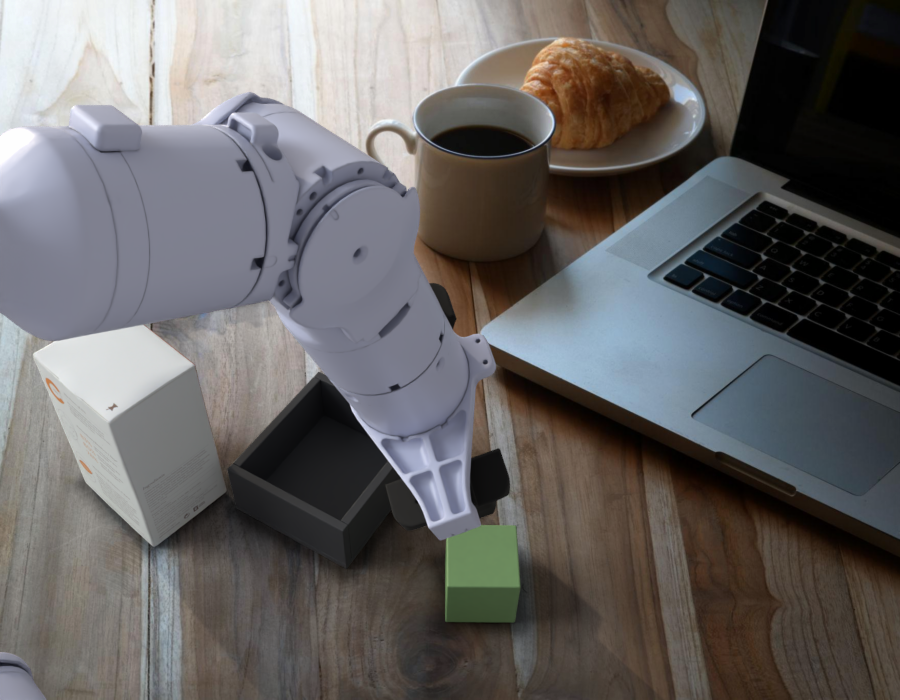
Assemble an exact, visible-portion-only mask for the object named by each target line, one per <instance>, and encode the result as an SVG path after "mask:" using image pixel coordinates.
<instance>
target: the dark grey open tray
mask: <svg viewBox="0 0 900 700" xmlns="http://www.w3.org/2000/svg"><path fill="white" fill-rule="evenodd" d="M226 472H227V475H228V479H229V484H230V487H231V492H232V495H233V500H234V505H235V508H236V509H237V510H239V511H241V512H242V513H244V514H246V515H248V516H250V517H251V518H253V519H255V520H256V521H259V522H261V523H262V524H264V525H266V526H267V527H269V528H271V529H273V530H275V531H277V532H278V533H280V534H282V535H284V536H286V537H287V538H289V539H291V540H293V541H295V542H297V543H298V544H300V545H302V546H304V547H306V548H307V549H308V550H311V551H313V552H314V553H317V554H318V555H320V556H323V557H324V558H325V559H328V560H329V561H331V562H333V563H334V564H336V565H338V566H339V567H342V568H344V569H346V570H347V569H348V568H349V567H350V566H351V564H352V563H353V562H354V561H355V559H356V557H358V555H359V553H360V552H362V550H363V548H365V545H366V544H367V543H368V542H369V541H370V540H371V538H372V537H373V535H374V534H375V532H376V531H377V530H378V529H379V527H380V526H381V525H382V523H383V521H384V520H385V519H386V518H387V516H388V515H389V514H390V513H391V512H392V509H391V505H390V501H389V497H388V494H387V490H386V486H385V485H386V484H389V483H391V482H394V481H397V480H400V479H402V478H401V477H400V476H399V474H398V473H397V472H396V470H395V469H394V468H393V466H392V465H391V464H390V462H389V461H388V460H387V459H386V457H385V456H384V455H383V453H382V452H381V451H380V449H379V448H378V447H377V445H376V444H375V443H374V441H373V440H372V439H371V437H370V436H369V435H368V433H367V432H366V431H365V429H364V428H363V427H362V425H361V424H360V423H359V421H358V420H357V418H356V417H355V415H354V413H353V412H352V409H351V407H350V404H349V403H348V401H347V400H346V399H345V398H344V397H343V395H342V394H341V393H340V392H339V391H338V389H337V388H336V387H335V386H334V384H333V383H332V382H331V381H330V380H329V378H328V377H327V376H326V375H325V374H324V372H320V371H318V372H316V374H314V376H313V377H312V378H311V379H310V380H309V381H308V382H307V383H306V384H305V385H304V386H303V387H302V389H301V390H300V391H299V392H298V393H296V395H295V396H294V397H293V398H292V399H291V400H290V401H289V402H288V403H287V404H286V405H285V407H284V408H282V410H281V411H280V412H279V413H278V414H277V415H276V416H275V417H274V418H273V419H272V421H271V422H269V424H268V425H267V426H266V427H265V428H264V429H263V430H262V431H261V432H260V434H258V436H256V437H255V438H254V439H253V441H252V442H251V443H250V444H249V445H248V446H247V447H246V448H245V449H244V450H243V451H242V452H241V453H240V454H239V456H238V457H237V458H236V459H235V460H234V461H233V462H232V463H231V464H230V466H228V467H227V469H226Z"/></svg>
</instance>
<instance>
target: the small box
mask: <svg viewBox="0 0 900 700" xmlns="http://www.w3.org/2000/svg"><path fill="white" fill-rule="evenodd" d="M32 358H33V360H34V363H35V365H36V367H37V370H38V372H39V375H40V377H41V379H42V383H43V384H44V386H45V389H46V391H47V393H48V395H49V398H50V401H51V403H52V405H53V408H54V410H55V412H56V415H57V417H58V420H59V422H60V424H61V427H62V429H63V432H64V434H65V436H66V439H67V441H68V443H69V445H70V448H71V450H72V453H73V455H74V459H75V460H76V462H77V465H78V468H79V470H80V472H81V475H82V477H83V479H84V482H85V484H86V485H87V486H88V487H89V488H90V489H91V490H92V491H93V492H95V493H96V495H97V496H98V497H100V498H101V499H102V500H103V501H104V502H105V503H106V504H107V505H108V506H109V507H110V508H111V509H112V510H113V511H114V512H115V513H116V514H117V515H118V516H119V517H121V518H122V519H123V520H124V521H125V522H126V523H127V524H128V525H129V526H130V527H131V528H132V529H133V530H134V531H135V532H136V533H137V534H138V535H140V536H141V538H143V539H144V540H145V541H146V542H147V543H148V544H149V545H150V546H152V547H154V548H156V547H157V546H159V545H160V544H161V543H162V542H164V541H165V540H166V539H167V538H169V537H170V536H172V535H173V534H174V533H175V532H177V531H178V530H179V529H181V528H183V526H184V525H186V524H187V523H189V522H190V521H191V520H192V519H193V518H195V517H196V516H197V515H199V514H200V513H201V512H202V511H204V510H205V509H206V508H207V507H209V506H210V505H211V504H212V503H214V502H215V501H216V500H218V499H219V498H221V496H223V495H224V494H225V493H226V492H228V491H227V490H228V489H227V485H226V481H225V477H224V473H223V469H222V465H221V462H220V458H219V454H218V450H217V446H216V442H215V438H214V434H213V430H212V426H211V422H210V418H209V415H208V414H209V413H208V410H207V406H206V402H205V399H204V395H203V390H202V387H201V384H200V379H199V374H198V370H197V367H196V364H195V363H194V361H193V362H192V360H190V359H189V358H188V357H186V356H185V355H184V354H183V353H181V352H180V351H179V350H177V349H176V348H175V347H174V346H173V345H171V344H170V343H168V342H167V341H166V340H164V339H163V338H162V337H160V336H159V335H158V334H157V333H156V332H155V331H153V330H152V329H151V328H149V327H148V326H147V325H146V324H145V325H140V326H134V327H129V328H124V329H118V330H112V331H107V332H102V333H97V334H91V335H86V336H81V337H76V338H71V339H66V340H60V341H52V342H51V343H49V344H47V345H46V346H44V347H42V348H41V349H38V350H37V351H35V352H33V354H32Z"/></svg>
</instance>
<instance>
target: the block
mask: <svg viewBox="0 0 900 700" xmlns="http://www.w3.org/2000/svg"><path fill="white" fill-rule="evenodd" d="M518 539H519V538H518V526H517V525H515V524H513V525H512V524H511V525H510V524H481V526H480V527H477V528H474V529H472V530H469V531H467V532H464V533H461V534H458V535H456V536H452V537H449V538H446V539H445V554H444V555H445V556H444V557H445V558H444V577H445V578H444V621H445V622H446V623H512V624H513V623H514V624H515V622H516V618H517V612H518V605H519V599H520V594H521V587H522V585H521V573H520V572H521V571H520V570H521V569H520V557H519V541H518Z"/></svg>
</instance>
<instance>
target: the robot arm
mask: <svg viewBox="0 0 900 700" xmlns="http://www.w3.org/2000/svg"><path fill="white" fill-rule="evenodd" d="M420 221H421V204H420V199H419V194H418V191H417V188H416V186H410V187H409V188H408V189H407V186H406V185H405V184H403V183H401V182H400V180H399V178H398V176H397V175H396V174H395V172H393V171H391V170H390V169H389V167H388V166H386V165H385V164H383V163H382V162H380V161H378V160H377V159H375V158H374V157H372V156H370V154H369V155H368V154H367V153H366V152H364V151H362V150H361V149H359V148H358V147H356V146H355V145H353V144H351V143H350V142H349V141H347V140H345V139H343V138H342V137H340V136H339V135H337V134H336V133H334V132H333V131H331V130H330V129H328V128H326V127H325V126H323V125H322V124H320V123H318V122H316V121H315V120H314V119H312V118H311V117H309V116H308V115H306V114H305V113H303V112H302V111H300V110H298V109H296V108H294V107H293V106H290V105H287V104H285V103H283V102H281V101H279V100H277V99H273V98H269V97H262V96H259V95H258V94H257V93H254V92H252V91H247V92H243V93H240V94H237V95H235V96H233V97H230V98H229V99H226V100H225V101H223V102H221V103H220V104H218V105H216V106H215V107H214V108H212V109H211V110H210V111H209V112H207V114H206V115H204V117H202V118H200V120H198V121H196V122H195V123H192V124H147V125H146V124H138V123H137V122H136V121H134V120H132V119H131V118H130V117H129V116H127V115H126V114H125V113H124V112H122V111H120V110H119V109H118V108H117V107H115V106H114V105H111V104H74V105H73V106H71V108H70V112H69V121H68V125H28V126H27V125H26V126H25V125H24V126H16V127H12V128H9V129H7V130H5V131H4V132H2V133H1V134H0V314H1V315H3V316H4V317H5V318H7V319H8V320H9V321H10V322H12V323H13V324H15V325H16V326H17V327H19V328H20V329H21V330H22V331H24V332H26V333H28V334H29V335H31V336H33V337H35V338H37V339H39V340H42V341H46V342H54V341H60V340H66V339H71V338H76V337H81V336H86V335H91V334H97V333H102V332H107V331H112V330H118V329H124V328H129V327H134V326H140V325H145V326H146V325H150V324H154V323H155V324H156V323H160V322H165V321H172V320H176V319H177V320H178V319H180V318H186V317H192V316H196V315H203V314H207V313H213V312H218V311H225V310H228V309H229V310H230V309H233V308H240V307H243V306H244V307H245V306H250V305H255V304H259V303H263V302H270V303H271V304H272V306H273V307H274V310H275V312H276V314H277V316H278V317H279V320H280V322H281V323H282V324H283V326H284V327H285V329H287V331H288V332H289V333H290V334H291V336H292V337H293V338H294V340H296V342H297V343H298V344H299V346H301V348H302V349H303V350H304V351H305V352H306V354H307V355H308V356H309V357H310V358H311V360H312V361H313V362H314V363H315V364H316V365H317V367H318V368H319V369H320V370H321V371H322V373H323V374H325V375H326V376H327V377H328V378H329V380H330V381H331V382H332V383H333V384H334V386H335V387H336V388H337V389H338V391H339V392H340V393H341V394H342V395H343V397H344V398H345V399H346V400H347V401H348V403H349V404H350V407H351V409H352V412H353V413H354V415H355V417H356V418H357V420H358V421H359V423H360V424H361V425H362V427H363V428H364V429H365V431H366V432H367V433H368V435H369V436H370V437H371V439H372V440H373V441H374V443H375V444H376V445H377V447H378V448H379V449H380V451H381V452H382V453H383V455H384V456H385V457H386V459H387V460H388V461H389V462H390V464H391V465H392V466H393V468H394V469H395V470H396V472H397V473H398V474H399V476H400V477H401V478H402V479H400V480H397V481H394V482H391V483H389V484H386V485H385V486H386V490H387V494H388V497H389V501H390V505H391V509H392V510H391V513H392V516H393V518H394V519H395V521H396V522H397V523H398V524H399V526H401V527H402V528H403V529H404V530H405V531H409V532H412V531H415V530H420V529H422V528H425V527H427V528H428V529H429V530H430V531H431V533H432V534H433V535H434V536H435V537H436V538H437V539H438V541H444V540H446V538H449V537H452V536H456V535H458V534H461V533H464V532H467V531H469V530H472V529H474V528H477V527H480V526H481V525H482V522H481V519H483V518H486V517H488V516H491V515H494V513H495V511H496V508H497V501H499V500H502V499H504V498H506V497H508V496H509V495H510V493H511V492H510V491H511V479H510V475H509V472H508V469H507V465H506V463H505V460H504V459H505V458H504V456H503V453H502V451H501V448H500V447H497V448H495V449H492V450H490V451H489V450H488V451H487V452H484V453H481V454H478V455H476V456H472V453H473V437H474V419H475V407H476V406H475V405H476V389H477V385H478V384H479V382H480V381H482V380H484V379H486V378H489V377H491V376H492V375H494V373H495V372H496V370H497V364H496V360H495V358H494V355H493V352H492V349H491V346H490V344H489V342H488V339H487V338H486V337H485V335H484V334H481V333H473V334H470V335H468V336H460V335H459V334H457V333H456V332H455V331H454V328H455V324H456V322H457V319H458V318H457V315H456V313H455V309H454V306H453V302H452V300H451V298H450V295H449V293H448V291H447V289H446V288H445V287H444V285H442V284H440V283H436V282H429V280H428V278H427V276H426V274H425V272H424V271H423V268H422V267H421V264H420V263H419V261H418V259H417V257H416V255H415V245H416V240H417V236H418V234H419V233H418V232H419V227H420ZM0 700H48V699H47V697H46V696H45V694H44V693H43V692H42V690H41V689H40V688H39V686H38V685H37V684H36V682H35V680H34V676H33V672H32V669H31V668H30V666H29V664H27V662H26V661H25V660H24V659H23V658H22V657H20V656H18V655H17V654H14V653H10V652H6V651H0Z"/></svg>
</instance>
